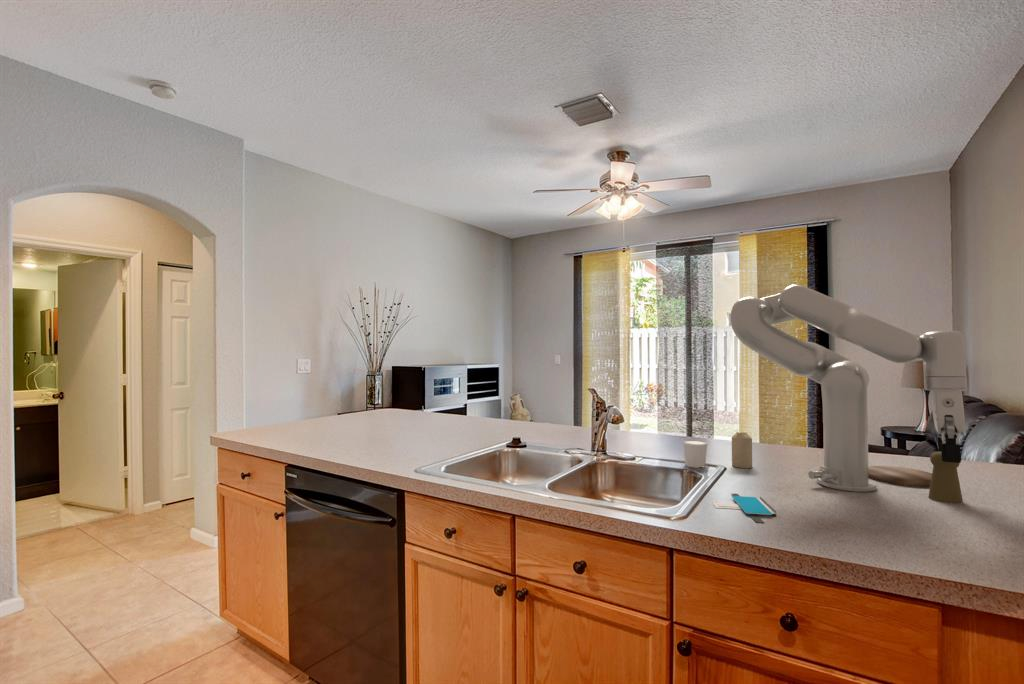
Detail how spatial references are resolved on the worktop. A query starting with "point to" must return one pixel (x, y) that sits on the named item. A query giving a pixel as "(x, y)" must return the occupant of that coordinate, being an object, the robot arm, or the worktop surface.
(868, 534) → the worktop surface
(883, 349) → the robot arm
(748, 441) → the candle
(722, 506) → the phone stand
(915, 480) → the walnut board
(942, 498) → the olive green pepper mill
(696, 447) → the white cup
